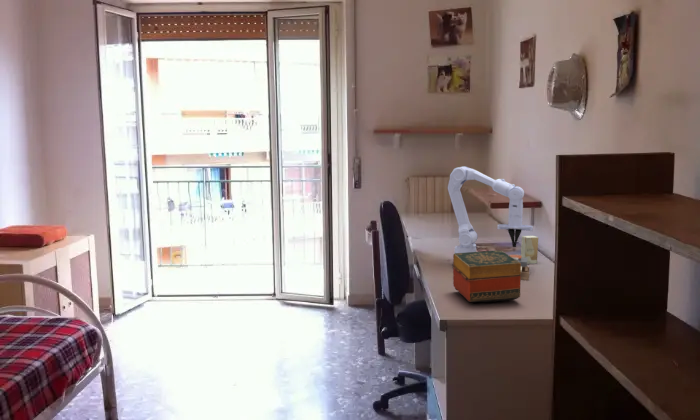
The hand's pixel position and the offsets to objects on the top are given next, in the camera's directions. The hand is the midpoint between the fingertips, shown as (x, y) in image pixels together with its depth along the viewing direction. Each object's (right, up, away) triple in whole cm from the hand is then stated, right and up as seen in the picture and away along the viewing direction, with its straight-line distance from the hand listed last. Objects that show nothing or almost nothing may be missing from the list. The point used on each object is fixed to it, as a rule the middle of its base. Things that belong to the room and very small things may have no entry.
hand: (514, 246), depth 261 cm
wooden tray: (-7, -12, -8) cm, 15 cm away
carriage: (-3, -11, -9) cm, 14 cm away
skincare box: (+11, -9, +16) cm, 21 cm away
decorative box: (-22, -16, -41) cm, 49 cm away
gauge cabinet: (0, -10, +1) cm, 10 cm away
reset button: (0, -9, 0) cm, 9 cm away
